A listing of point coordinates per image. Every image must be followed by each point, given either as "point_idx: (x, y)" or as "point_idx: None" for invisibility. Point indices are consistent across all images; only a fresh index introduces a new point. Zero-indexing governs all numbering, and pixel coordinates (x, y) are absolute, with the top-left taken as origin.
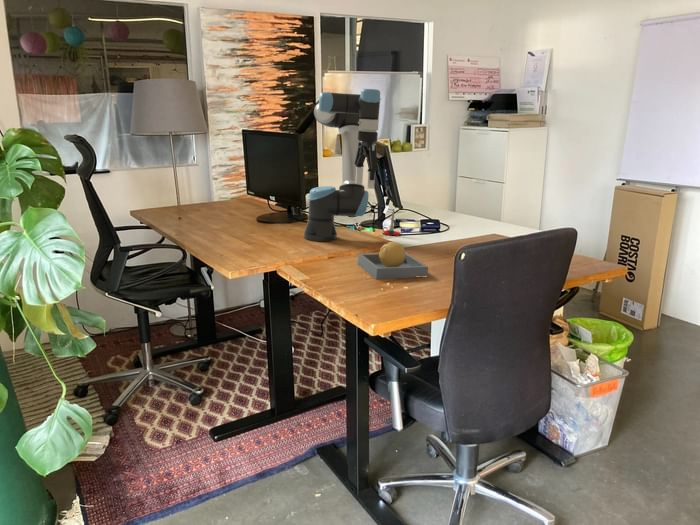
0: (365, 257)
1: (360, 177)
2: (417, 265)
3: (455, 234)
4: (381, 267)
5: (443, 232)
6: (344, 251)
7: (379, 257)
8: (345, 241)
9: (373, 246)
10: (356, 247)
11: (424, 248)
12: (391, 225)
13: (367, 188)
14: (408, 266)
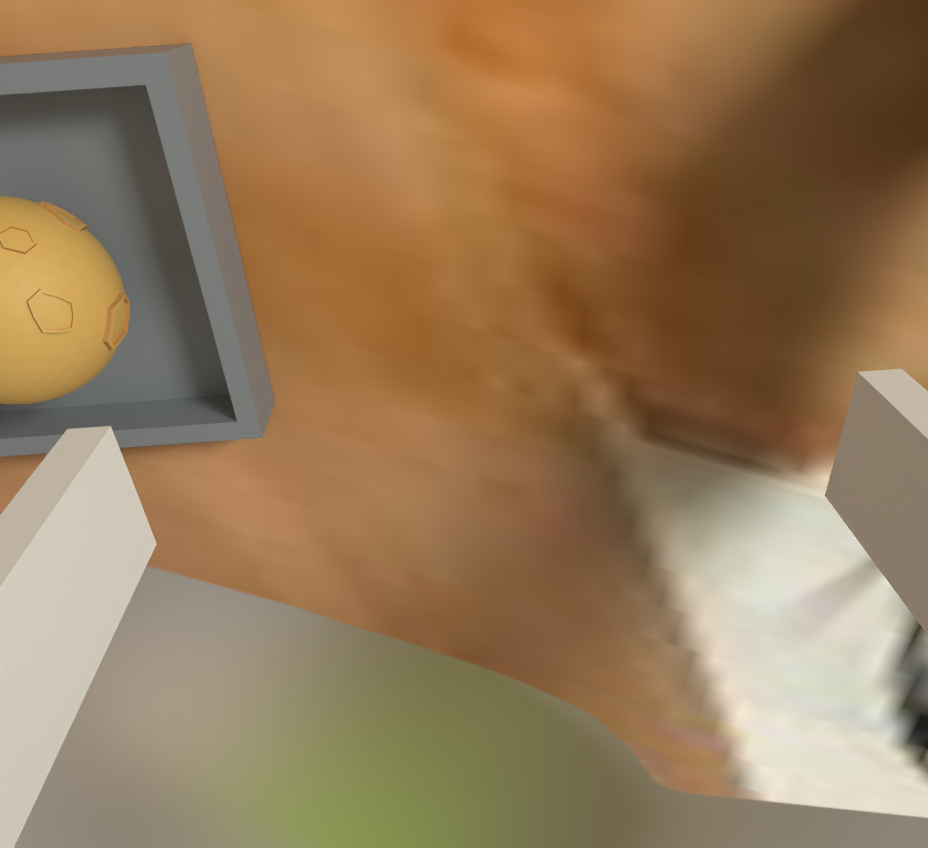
0: (53, 87)
1: (908, 546)
2: (29, 425)
3: (841, 785)
4: (57, 198)
5: (901, 756)
6: (592, 33)
7: (9, 197)
8: (912, 138)
9: (701, 320)
10: (700, 181)
11: (595, 590)
12: None
13: (69, 429)
14: (126, 386)
